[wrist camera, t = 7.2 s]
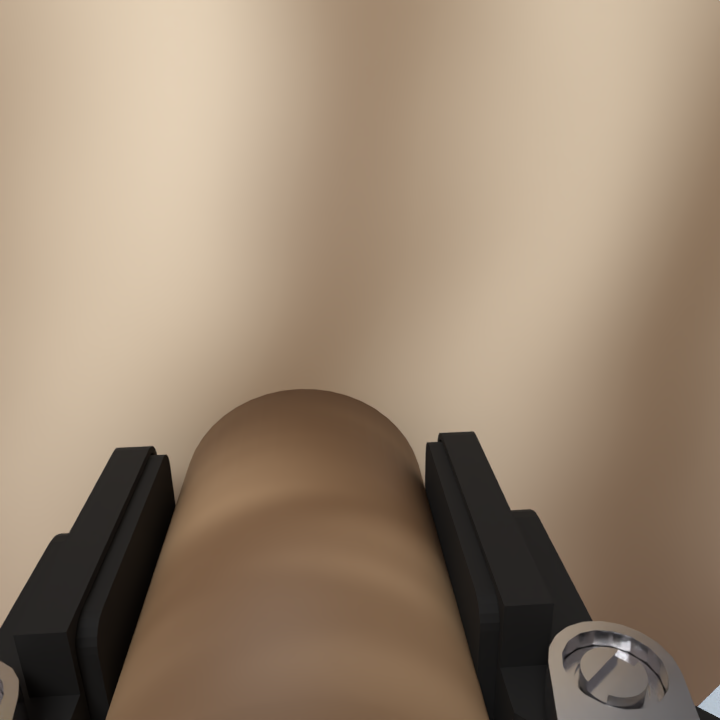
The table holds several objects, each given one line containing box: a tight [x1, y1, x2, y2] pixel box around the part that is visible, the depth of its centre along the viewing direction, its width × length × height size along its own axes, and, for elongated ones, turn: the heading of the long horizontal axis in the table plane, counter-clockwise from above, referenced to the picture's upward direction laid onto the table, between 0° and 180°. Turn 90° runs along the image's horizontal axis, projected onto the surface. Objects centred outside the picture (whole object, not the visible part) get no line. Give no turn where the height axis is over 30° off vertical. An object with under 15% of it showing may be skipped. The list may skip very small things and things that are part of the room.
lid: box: [0, 0, 720, 720], centre depth 9 cm, size 19×19×7 cm
